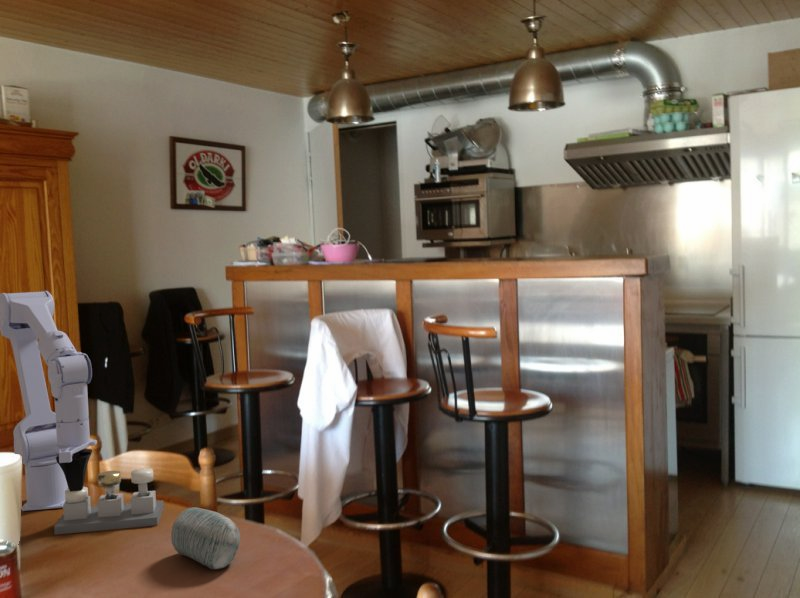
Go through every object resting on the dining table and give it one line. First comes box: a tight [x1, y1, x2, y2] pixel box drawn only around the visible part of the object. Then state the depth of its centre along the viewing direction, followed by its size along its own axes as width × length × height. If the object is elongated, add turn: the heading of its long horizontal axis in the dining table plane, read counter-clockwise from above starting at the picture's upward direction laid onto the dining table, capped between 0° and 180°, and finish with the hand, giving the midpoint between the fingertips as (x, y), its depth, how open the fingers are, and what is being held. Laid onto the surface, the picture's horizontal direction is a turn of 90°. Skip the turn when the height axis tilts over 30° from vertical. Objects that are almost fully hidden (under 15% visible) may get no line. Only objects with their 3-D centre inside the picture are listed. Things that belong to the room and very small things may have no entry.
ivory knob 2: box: [130, 467, 154, 497], centre depth 145 cm, size 4×4×5 cm
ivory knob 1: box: [65, 486, 89, 503], centre depth 143 cm, size 4×4×5 cm
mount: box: [53, 490, 164, 536], centre depth 144 cm, size 10×18×4 cm, turn 101°
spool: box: [170, 506, 241, 570], centre depth 124 cm, size 14×10×10 cm
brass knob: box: [97, 470, 122, 500], centre depth 144 cm, size 4×4×5 cm
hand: (76, 490), depth 143 cm, fingers closed, pressing on ivory knob 1
